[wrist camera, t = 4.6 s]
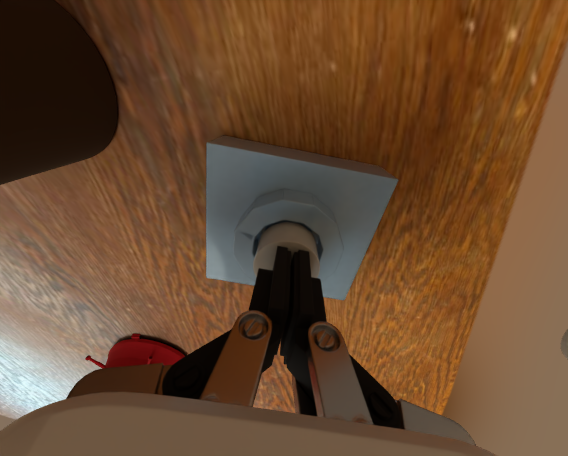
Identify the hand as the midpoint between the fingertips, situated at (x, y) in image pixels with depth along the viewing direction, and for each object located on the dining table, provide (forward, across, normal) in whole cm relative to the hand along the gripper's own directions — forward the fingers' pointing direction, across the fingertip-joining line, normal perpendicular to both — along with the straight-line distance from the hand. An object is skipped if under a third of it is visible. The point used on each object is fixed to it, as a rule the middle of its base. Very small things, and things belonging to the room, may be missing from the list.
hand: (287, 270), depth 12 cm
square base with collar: (+7, 0, 0) cm, 7 cm away
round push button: (+2, 0, 0) cm, 2 cm away
